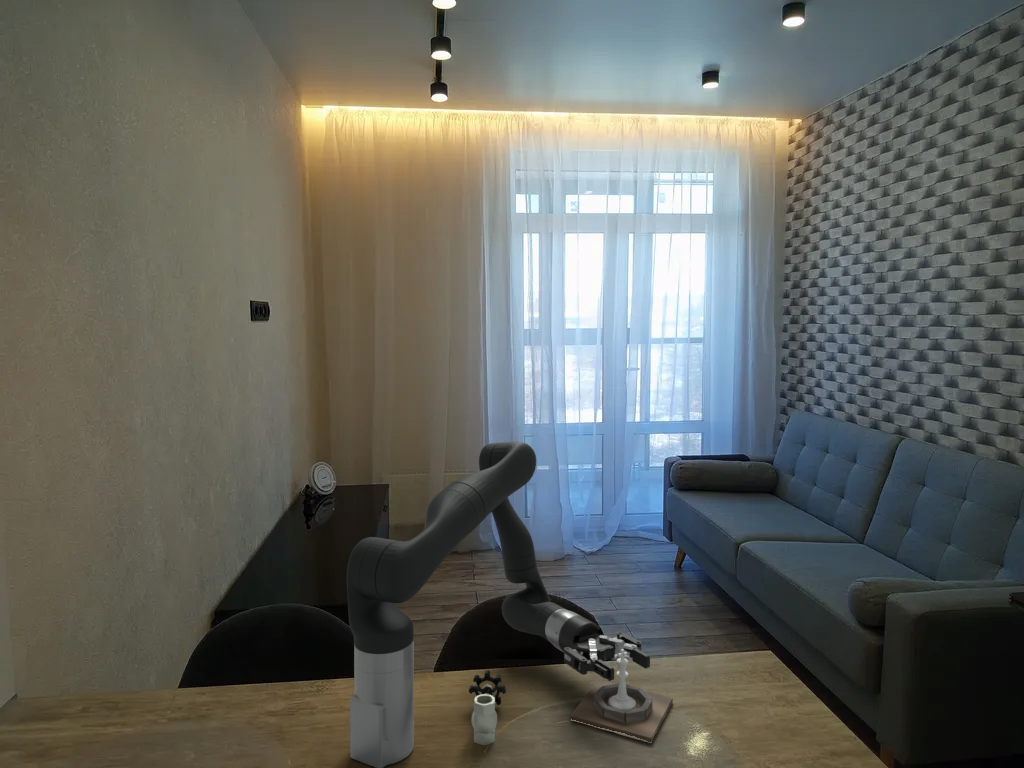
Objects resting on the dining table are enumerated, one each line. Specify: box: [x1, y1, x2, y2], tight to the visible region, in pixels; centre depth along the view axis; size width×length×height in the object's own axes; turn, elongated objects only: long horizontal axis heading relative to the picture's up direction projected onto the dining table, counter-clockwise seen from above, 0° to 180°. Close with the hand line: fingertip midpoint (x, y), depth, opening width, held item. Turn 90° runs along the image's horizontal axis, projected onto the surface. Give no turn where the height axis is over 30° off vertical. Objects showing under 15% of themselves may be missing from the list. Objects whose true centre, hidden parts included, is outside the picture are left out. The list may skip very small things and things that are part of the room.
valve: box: [468, 669, 507, 746], centre depth 107 cm, size 7×7×12 cm
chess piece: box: [608, 649, 636, 710], centre depth 111 cm, size 5×5×10 cm
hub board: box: [569, 679, 674, 743], centre depth 111 cm, size 14×14×2 cm
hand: (631, 668), depth 110 cm, fingers open, 8 cm apart
